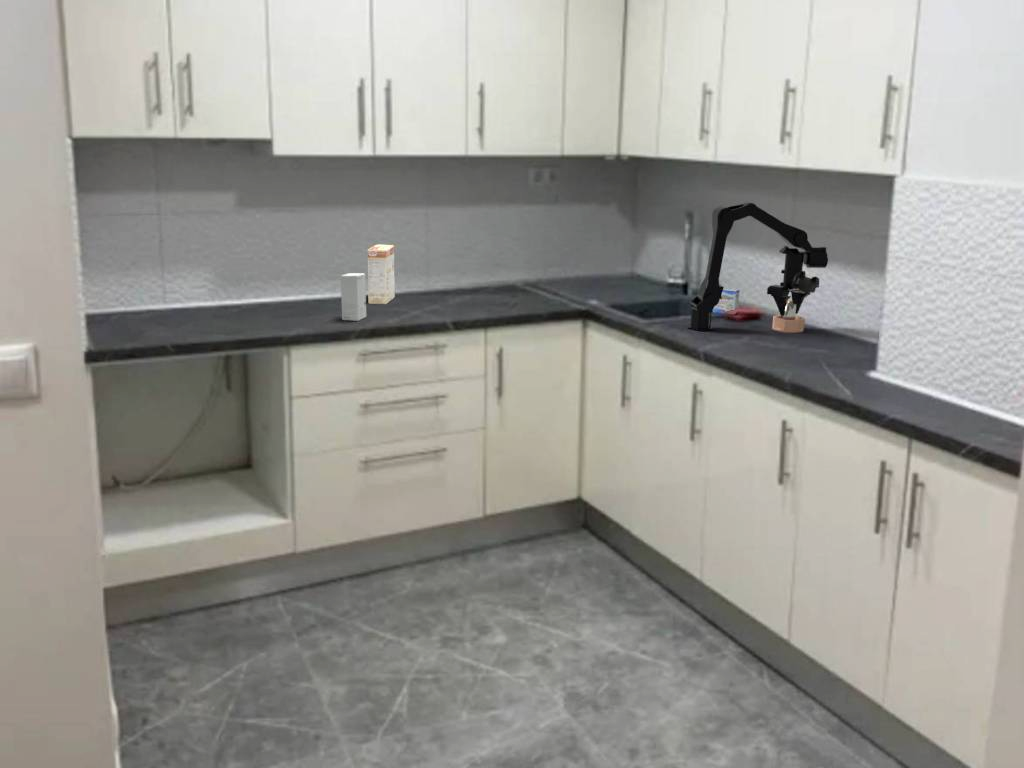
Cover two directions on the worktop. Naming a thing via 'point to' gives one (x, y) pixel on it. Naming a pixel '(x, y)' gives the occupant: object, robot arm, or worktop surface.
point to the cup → (788, 324)
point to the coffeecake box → (381, 274)
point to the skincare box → (353, 296)
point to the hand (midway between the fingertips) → (789, 314)
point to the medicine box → (727, 301)
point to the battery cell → (790, 311)
